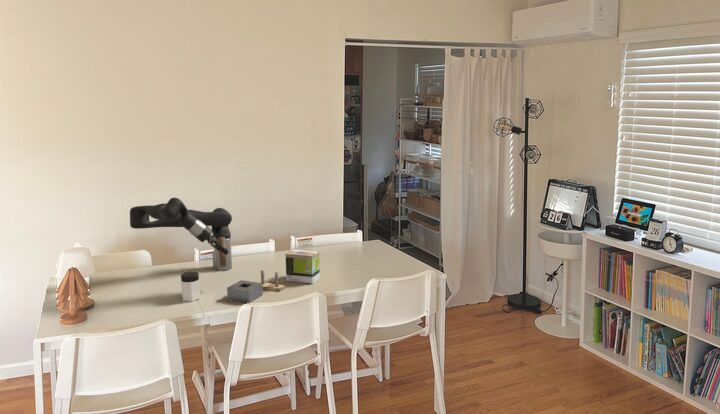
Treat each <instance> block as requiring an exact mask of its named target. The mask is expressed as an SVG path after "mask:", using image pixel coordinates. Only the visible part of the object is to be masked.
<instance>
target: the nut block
mask: <svg viewBox="0 0 720 414" xmlns="http://www.w3.org/2000/svg"><path fill="white" fill-rule="evenodd" d="M226 294H227V295H226V296H227V301H231V300H232V301H233V302H237V301H238V302H237V303H243V304H248V303H247V302H251V303H253V302H255V300H257V299H259V298H261V297H262V296H264V289H263V283H260V282H255V281H249V280H243V279H241V280H238V281H237V282H236V283H233V284H232V285H229V286H227V287H226Z"/></svg>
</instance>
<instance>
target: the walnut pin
mask: <svg viewBox="0 0 720 414" xmlns="http://www.w3.org/2000/svg"><path fill="white" fill-rule="evenodd" d="M218 242H220V245H222V246H223V247H224V248H225V249H226V247H225V237H219V238H218ZM219 247H220V246H219ZM219 260H220V266H221V267H223V266H226V255H225V254H224V253H222V252H221V251H219Z"/></svg>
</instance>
